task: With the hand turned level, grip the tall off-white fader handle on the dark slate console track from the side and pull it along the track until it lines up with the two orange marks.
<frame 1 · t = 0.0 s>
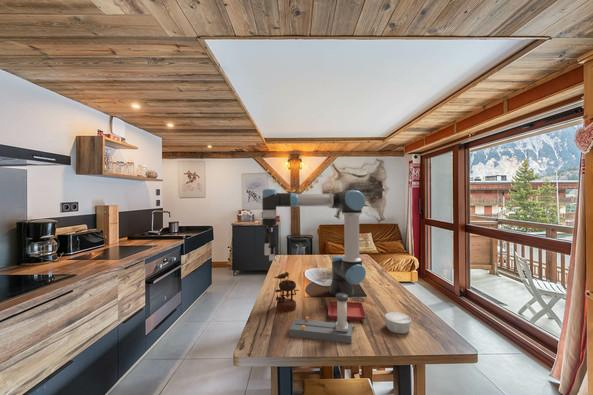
hand: (269, 257, 136), 28 cm above the table, tool pointing down, fingers open, 13 cm apart
fader handle: (342, 311, 110), point 10 cm above the table, slide at 0.0 cm
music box: (287, 308, 139), on the table
plant saucer: (346, 315, 131), on the table
ramekin: (397, 329, 116), on the table
fader console: (321, 333, 111), on the table
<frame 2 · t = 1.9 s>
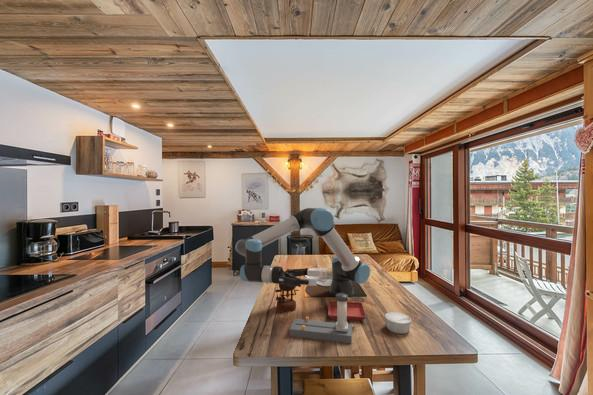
hand: (319, 277, 112), 24 cm above the table, tool horizontal, fingers open, 13 cm apart
nothing on the table moved.
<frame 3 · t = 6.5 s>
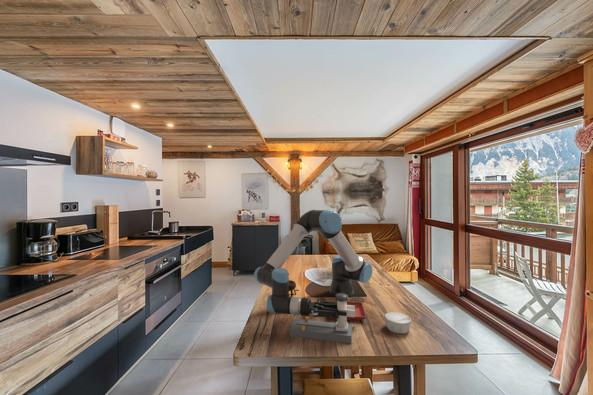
hand: (354, 311, 108), 11 cm above the table, tool horizontal, fingers closed on fader handle, 4 cm apart
fader handle: (342, 311, 110), point 10 cm above the table, slide at 0.0 cm, touching gripper
everything else where it was.
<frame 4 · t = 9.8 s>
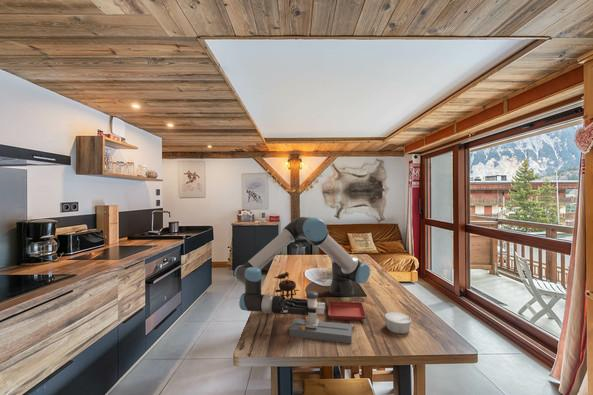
hand: (324, 308, 111), 11 cm above the table, tool horizontal, fingers closed on fader handle, 4 cm apart
fader handle: (312, 308, 113), point 10 cm above the table, slide at 13.0 cm, touching gripper
everything else where it was.
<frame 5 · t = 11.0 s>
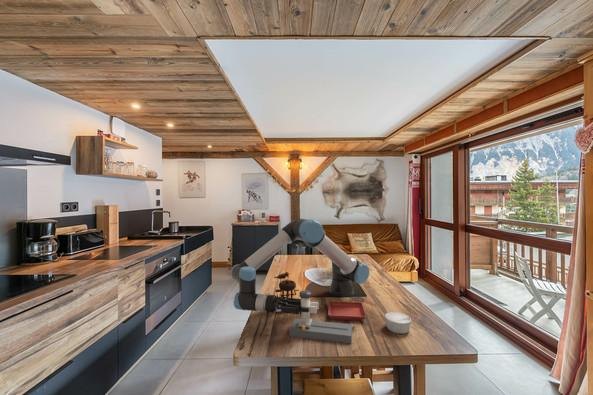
hand: (317, 307, 112), 11 cm above the table, tool horizontal, fingers closed on fader handle, 4 cm apart
fader handle: (305, 308, 113), point 10 cm above the table, slide at 16.0 cm, touching gripper
everything else where it was.
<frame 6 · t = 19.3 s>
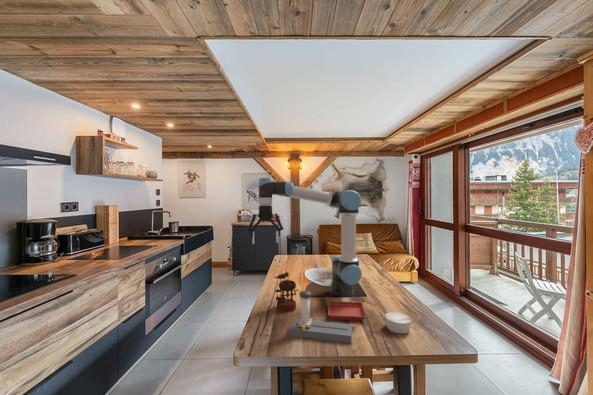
hand: (265, 243, 143), 35 cm above the table, tool pointing down, fingers open, 13 cm apart
fader handle: (305, 308, 113), point 10 cm above the table, slide at 16.0 cm
everything else where it was.
at the end: fader handle slide at 16.0 cm; the gripper is holding nothing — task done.
